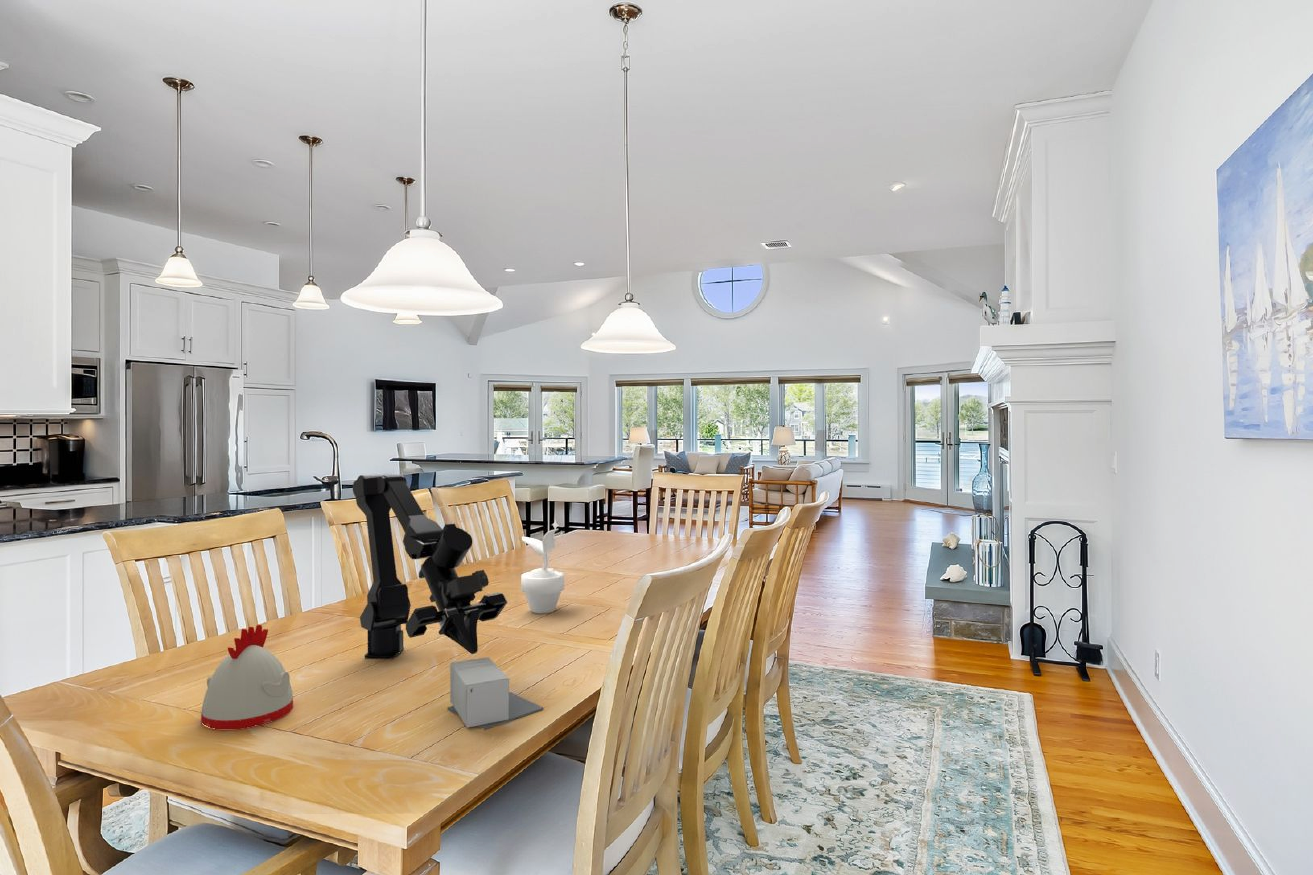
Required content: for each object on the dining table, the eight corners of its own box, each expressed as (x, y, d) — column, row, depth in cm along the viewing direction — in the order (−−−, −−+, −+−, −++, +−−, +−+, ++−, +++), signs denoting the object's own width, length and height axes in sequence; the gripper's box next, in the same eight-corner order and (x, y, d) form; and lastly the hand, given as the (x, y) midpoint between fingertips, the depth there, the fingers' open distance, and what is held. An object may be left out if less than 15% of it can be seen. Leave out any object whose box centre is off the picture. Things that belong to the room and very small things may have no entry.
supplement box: (449, 702, 130) (465, 729, 119) (449, 661, 130) (465, 684, 118) (490, 696, 133) (509, 720, 122) (490, 656, 133) (509, 677, 122)
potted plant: (573, 609, 196) (573, 517, 195) (544, 619, 186) (544, 522, 185) (538, 602, 202) (538, 514, 202) (508, 612, 193) (508, 518, 192)
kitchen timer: (310, 702, 131) (309, 619, 130) (251, 734, 117) (251, 642, 117) (245, 695, 134) (244, 614, 134) (181, 725, 120) (180, 636, 120)
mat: (447, 709, 127) (447, 707, 127) (504, 691, 136) (504, 689, 136) (484, 729, 119) (484, 727, 119) (543, 709, 128) (543, 707, 128)
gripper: (412, 564, 129) (444, 639, 121) (502, 551, 142) (535, 617, 135) (392, 600, 134) (421, 674, 127) (480, 584, 148) (511, 650, 140)
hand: (475, 652), depth 132 cm, fingers closed
